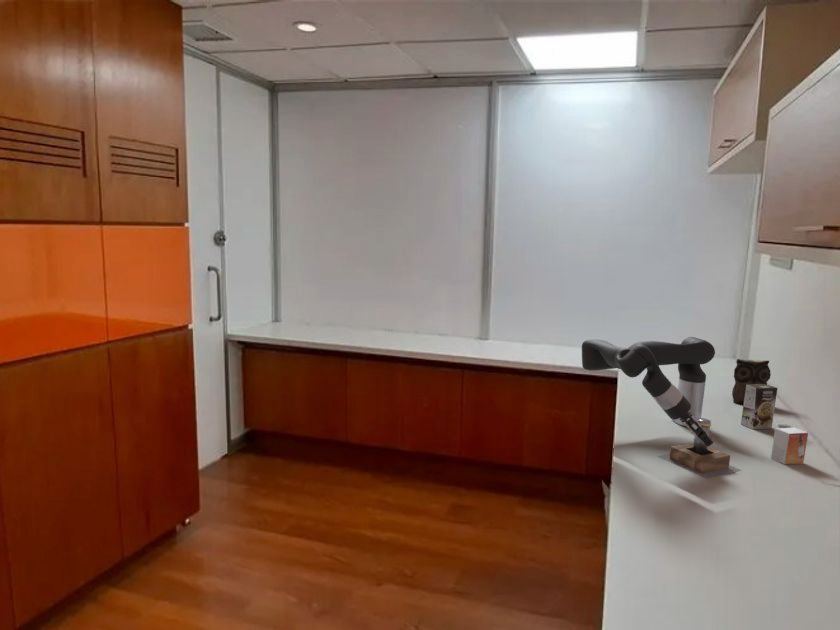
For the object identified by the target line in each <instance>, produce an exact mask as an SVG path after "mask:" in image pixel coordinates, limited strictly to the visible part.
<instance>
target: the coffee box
mask: <svg viewBox="0 0 840 630" xmlns="http://www.w3.org/2000/svg"><path fill="white" fill-rule="evenodd" d="M777 393H778V387H776V386H773V385H770V384H767V385H766V384H746V391H745V398H744V405H742V407H743V408H742V414H741V420H740V425H741V426H744V427H747V428H749V429H752V430H766V429H767V430H768V429H772V428H773V422H774V415H775V409H776V401H777Z"/></svg>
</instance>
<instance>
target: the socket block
mask: <svg viewBox="0 0 840 630" xmlns="http://www.w3.org/2000/svg"><path fill="white" fill-rule="evenodd" d="M693 444H694V441H693V442H688V443H683V444H678V445H672V446H670V452H669V454H670V458H669V459H671V460H674V461H676V462H678V463H680V464H683V465H685V466H687V467H689V468H691V469H694V470H696V471H698V472H700V473H706V472H711V471H715V470H720V469H724V468H729V465H730V459H731V454H728V453H726V452H723V451H722V450H718V449H716V448H713V447H711V446H708V447H707V455H699V454H697V453H695V452H693Z"/></svg>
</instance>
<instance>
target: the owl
mask: <svg viewBox="0 0 840 630" xmlns="http://www.w3.org/2000/svg"><path fill="white" fill-rule="evenodd" d="M735 361H736V362H735V363H736V366H735V368H734V370H733V378H734V386H733V388H732V391H731V392H732V393H731V395H732V399H733V404H736V405H741V406H743V405H744V398H745V391H746V384H766V385H768V383H767V382H768V381H769V380H770V379H771V369H770V366H769V363H770V360H761V359H740V358H737V359H736V360H735Z"/></svg>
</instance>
